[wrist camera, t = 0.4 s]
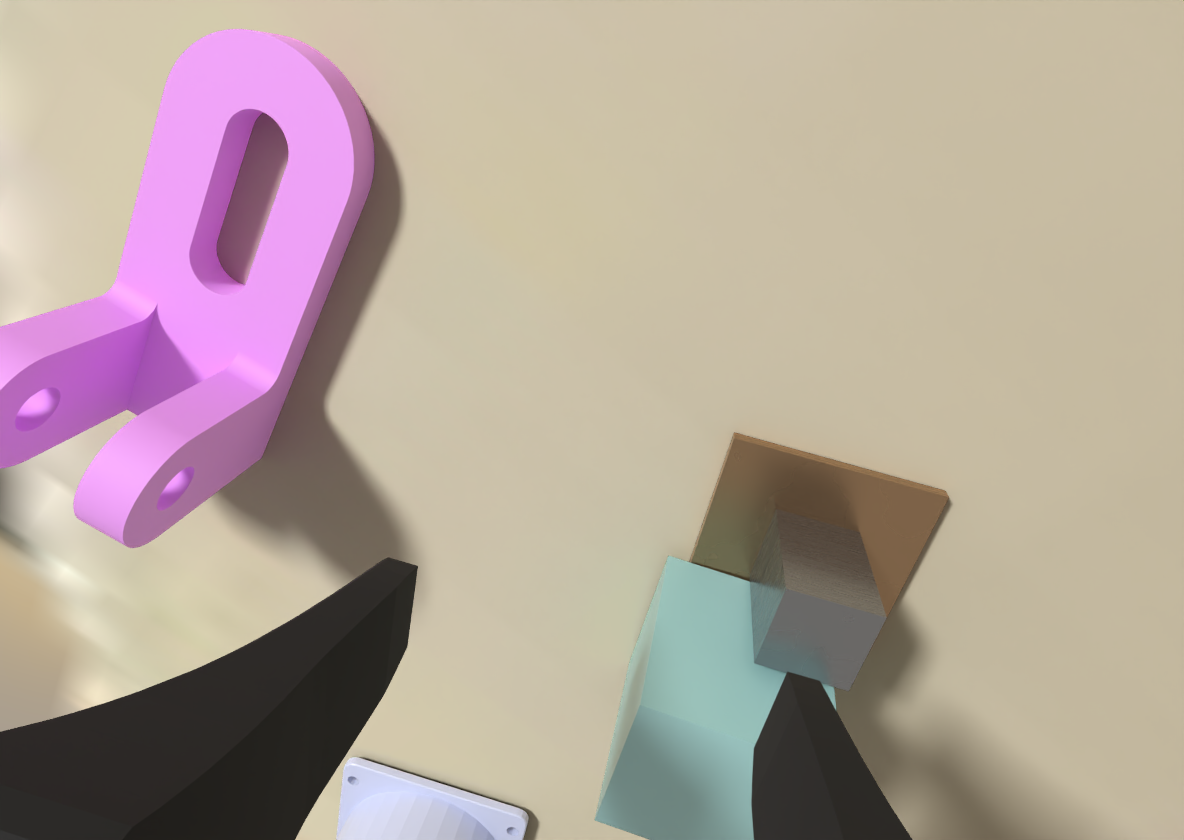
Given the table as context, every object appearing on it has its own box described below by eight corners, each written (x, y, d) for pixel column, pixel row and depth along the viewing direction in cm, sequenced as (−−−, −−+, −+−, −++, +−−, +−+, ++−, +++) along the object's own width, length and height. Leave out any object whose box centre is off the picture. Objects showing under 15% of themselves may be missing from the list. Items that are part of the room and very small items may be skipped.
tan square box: (863, 651, 24) (890, 760, 20) (676, 596, 24) (667, 693, 20) (945, 490, 21) (996, 580, 17) (733, 432, 22) (735, 506, 18)
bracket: (264, 455, 25) (109, 573, 19) (121, 372, 25) (-86, 463, 18) (407, 105, 20) (255, 105, 13) (225, -9, 19) (-19, -65, 13)
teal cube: (769, 709, 25) (770, 882, 20) (629, 662, 26) (594, 820, 21) (825, 605, 23) (842, 773, 18) (668, 555, 23) (640, 705, 18)
